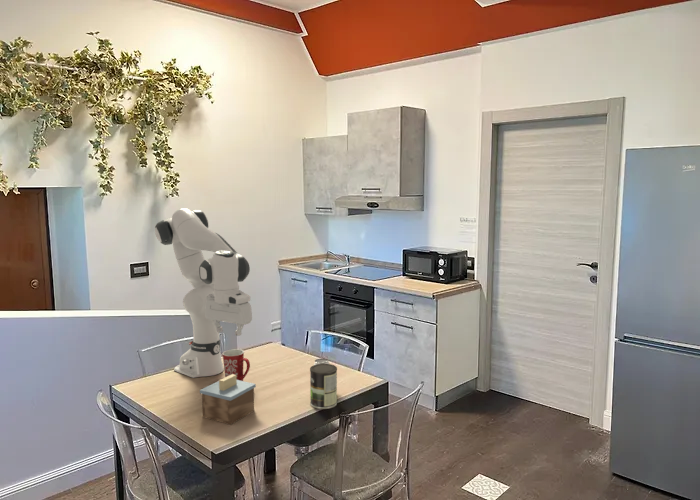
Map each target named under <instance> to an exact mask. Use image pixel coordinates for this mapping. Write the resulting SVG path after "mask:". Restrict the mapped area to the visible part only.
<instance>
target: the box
mask: <svg viewBox="0 0 700 500" xmlns="http://www.w3.org/2000/svg"><path fill="white" fill-rule="evenodd" d="M254 389H255V388H253V389H251V390H249V391H248V392H246V393H244V394H242V395H240V396H238V397H236V398H235V399H233V400H231V401H229V400H225V399H221V398H217V397H213V396H209V395H205V394H201V405H202V407H201V408H202V418H204V419H209V420H212V421H215V422H220V423H223V424H227V425H230V426H232V425H233V424H235V423H236V422H238V421H239V420H241V419H242V418H245V417H246V416H248V415H250V414H251V413H253V412H254V411H255V391H254Z"/></svg>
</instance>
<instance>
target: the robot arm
mask: <svg viewBox="0 0 700 500" xmlns="http://www.w3.org/2000/svg"><path fill="white" fill-rule="evenodd" d="M154 228H155V229H154V231H155V232H154V233H155V237H156V238H157V240H158V241H159V243H160V244H162V245H164V246H169V245H172V247H173V252H174V255H175V259H176V262H177V264H178V266H179V270H180V272H181V275H182V277H183V278H184V279H185V280H186V281H188V283H190V284H191V286H192V287H193V288H192V289H190V291H188V292H187V293H185V295H184V297H183V300H182V304H183V308H184V310H185V311H186V312H187V313H188V314H189V317H190V319H191V323H192V332H193V333H192V335H193V340H191V341H189V342H188V345H189V346H190V348H189V349H188V350H187V351H186V352H184V353H183V354H182V355H181V356H180V358H179V364H178V365H176V366H175V367H174V369H173V371H175V372H177V373H179V374H182V375H185V376H187V377H189V378H194V379H195V378H199V377H210V376H216V375H219V374H220V373H222V372H224V362H223V361H222V353H221V338H220V333H222V332H223V331H224V330H223V326H222V325H221V323H220V322H223V323H230V324H236V327H237V328H236V330H235V331H234V336H237V337H238V336H242V330H243V328H244V327H245V326H244V325H249V324H251V322H252V321H253V315H252V314H253V312H252V306H251V303H250V301H251V296H250V295H249V294H247V293H245V292H244V291H242V290H241V289H240V285H239V282H240V283H241V282H244V281H245V280H246V279H247V277H248V276H249V274H250V271H251V270H250V263H249V262H248V260H247V259H246V257H245V256H243V255H241V254H240V253H238V252H237V250H235V249H234V247H232V246H231V244H229V243H228V242H227V240H226V239H225V238H224V237H223V236H221V235H220V234H219V233H217V232H214V231H213V230H211V229H210V228H209V219H208V217H207V215H206V214H205V213H204V211H202V210H200V209H195V210H194V209H193V210H191V209H189V208H179V209H177V210H176V211H174V213H173V214H172V215H171V217H169V218H166V219H162V220H160V221H159V222H157V223H156V224H155V227H154ZM202 251H206V252H212V253H213V254H212V256H211V257H209V258H207V259H205V257H204V254H203V252H202Z"/></svg>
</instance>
